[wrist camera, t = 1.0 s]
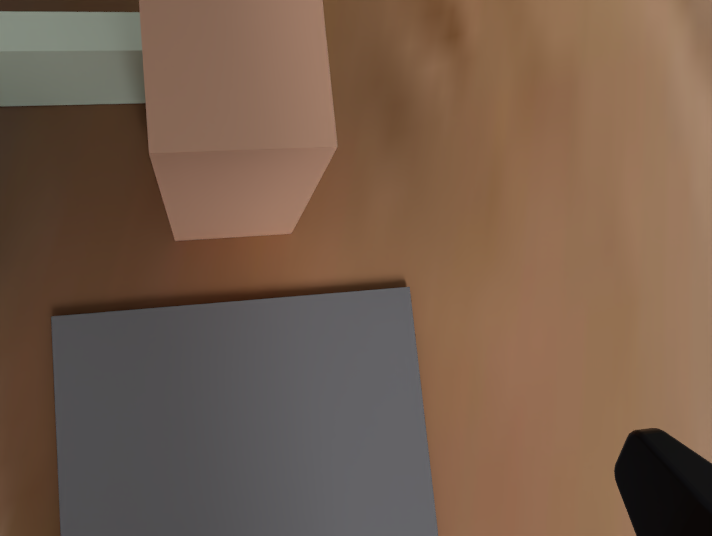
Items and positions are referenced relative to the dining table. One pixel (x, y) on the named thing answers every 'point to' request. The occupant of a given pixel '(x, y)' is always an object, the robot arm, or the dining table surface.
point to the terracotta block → (236, 112)
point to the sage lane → (70, 58)
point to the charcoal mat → (243, 419)
